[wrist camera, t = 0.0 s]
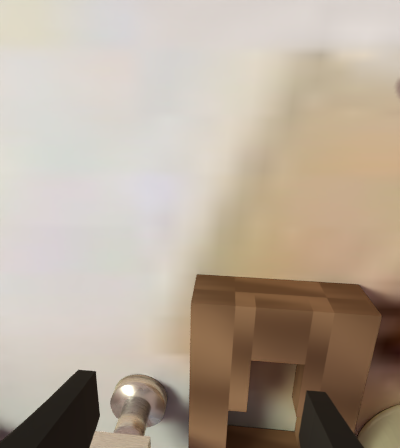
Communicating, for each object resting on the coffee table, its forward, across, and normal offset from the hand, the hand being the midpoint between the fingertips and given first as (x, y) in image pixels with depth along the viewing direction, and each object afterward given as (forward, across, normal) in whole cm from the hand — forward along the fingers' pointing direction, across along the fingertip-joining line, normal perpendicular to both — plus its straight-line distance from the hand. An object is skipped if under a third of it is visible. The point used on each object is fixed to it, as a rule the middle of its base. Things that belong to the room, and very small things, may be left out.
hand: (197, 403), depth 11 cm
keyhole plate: (+10, -4, +7) cm, 13 cm away
